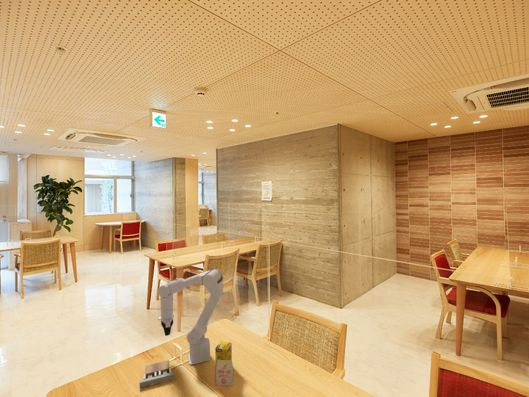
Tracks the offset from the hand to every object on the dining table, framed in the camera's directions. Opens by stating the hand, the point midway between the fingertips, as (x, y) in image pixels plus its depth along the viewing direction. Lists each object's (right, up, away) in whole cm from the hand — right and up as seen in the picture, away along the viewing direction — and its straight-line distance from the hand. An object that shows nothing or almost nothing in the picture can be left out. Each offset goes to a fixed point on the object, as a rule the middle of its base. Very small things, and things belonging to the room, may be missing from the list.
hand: (167, 334), depth 135 cm
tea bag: (+31, -11, -19) cm, 38 cm away
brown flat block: (0, -11, -14) cm, 17 cm away
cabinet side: (+2, -11, -17) cm, 20 cm away
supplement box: (+29, -11, -10) cm, 33 cm away
